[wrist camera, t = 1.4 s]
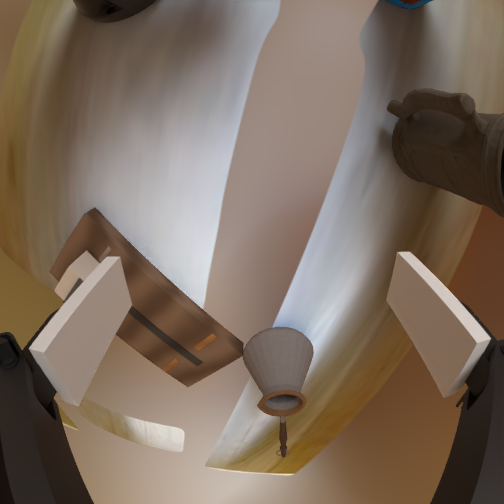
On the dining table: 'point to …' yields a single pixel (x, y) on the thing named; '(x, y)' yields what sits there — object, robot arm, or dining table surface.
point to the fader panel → (154, 307)
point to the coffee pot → (279, 372)
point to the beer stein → (451, 145)
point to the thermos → (409, 3)
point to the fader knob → (76, 275)
